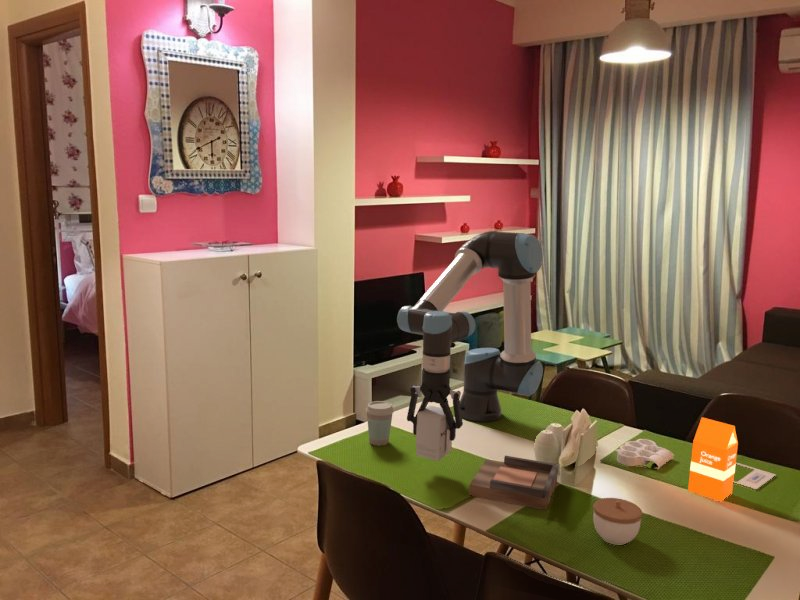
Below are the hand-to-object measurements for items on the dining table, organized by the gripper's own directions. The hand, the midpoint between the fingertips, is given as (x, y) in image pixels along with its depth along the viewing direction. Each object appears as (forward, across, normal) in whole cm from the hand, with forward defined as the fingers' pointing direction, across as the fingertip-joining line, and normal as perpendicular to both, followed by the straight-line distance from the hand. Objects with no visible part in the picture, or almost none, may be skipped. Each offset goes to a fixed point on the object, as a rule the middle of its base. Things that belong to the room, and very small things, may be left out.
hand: (433, 448), depth 196 cm
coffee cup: (+8, -22, +14) cm, 27 cm away
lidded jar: (+7, +50, -18) cm, 53 cm away
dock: (+7, +23, -1) cm, 24 cm away
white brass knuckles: (+9, +54, +36) cm, 65 cm away
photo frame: (+9, +79, +35) cm, 87 cm away
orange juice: (+8, +72, +18) cm, 75 cm away
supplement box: (+2, 0, 0) cm, 2 cm away
